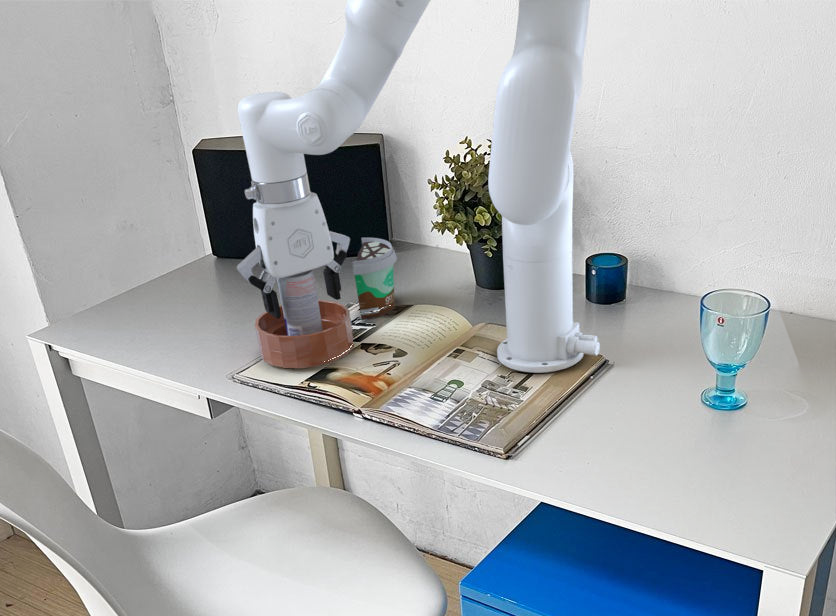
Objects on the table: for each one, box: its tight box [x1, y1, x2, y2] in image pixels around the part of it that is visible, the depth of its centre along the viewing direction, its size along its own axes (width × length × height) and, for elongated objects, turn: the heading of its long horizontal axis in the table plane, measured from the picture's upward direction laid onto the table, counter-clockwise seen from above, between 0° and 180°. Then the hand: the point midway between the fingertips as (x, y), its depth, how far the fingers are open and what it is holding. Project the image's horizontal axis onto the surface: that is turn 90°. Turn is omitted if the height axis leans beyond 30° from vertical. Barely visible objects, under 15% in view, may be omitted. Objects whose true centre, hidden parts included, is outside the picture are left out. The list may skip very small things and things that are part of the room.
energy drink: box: [276, 270, 323, 336], centre depth 146 cm, size 5×5×12 cm
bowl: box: [254, 299, 355, 369], centre depth 148 cm, size 14×14×6 cm
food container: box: [352, 237, 398, 320], centre depth 160 cm, size 12×6×10 cm, turn 179°
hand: (305, 306), depth 145 cm, fingers open, 9 cm apart
